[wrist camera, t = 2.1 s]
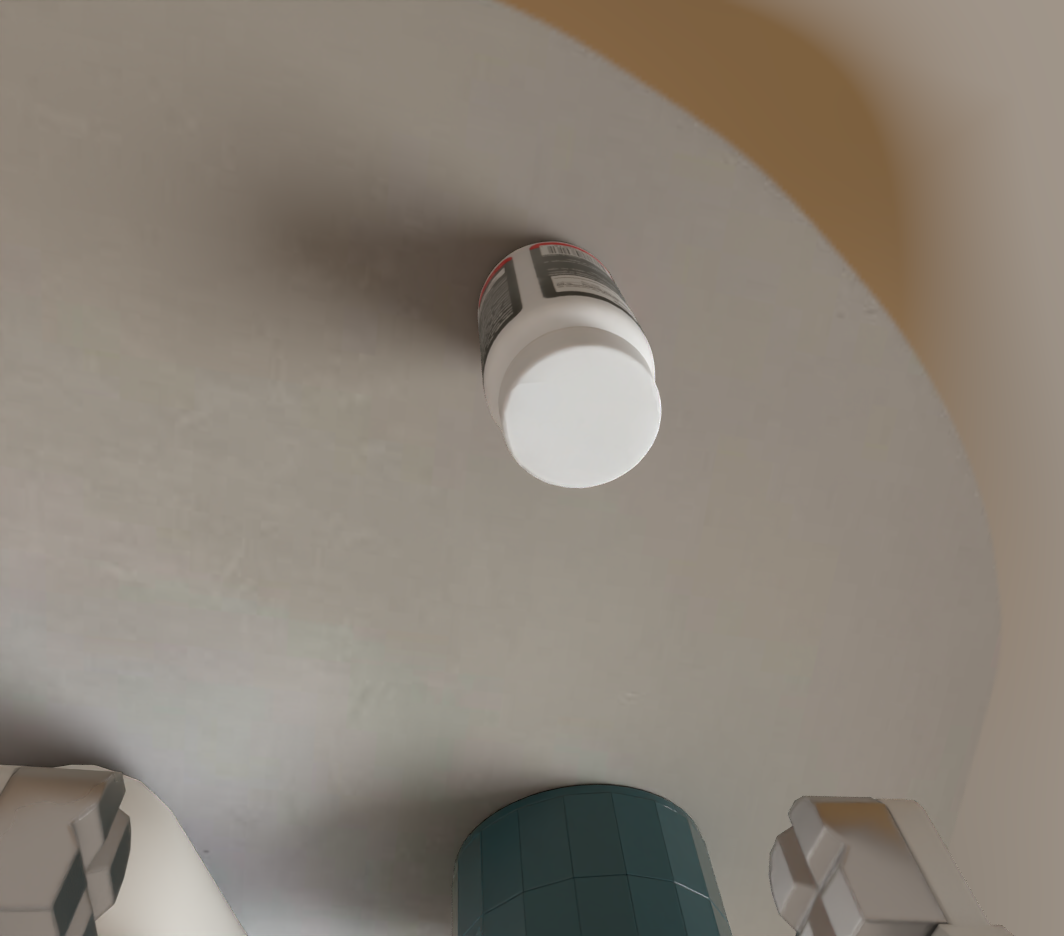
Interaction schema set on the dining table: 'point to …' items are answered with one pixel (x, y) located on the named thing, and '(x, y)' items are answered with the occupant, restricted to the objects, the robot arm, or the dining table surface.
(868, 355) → the dining table surface
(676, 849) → the enamel pot
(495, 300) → the pill bottle
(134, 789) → the baking dish
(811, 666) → the dining table surface
